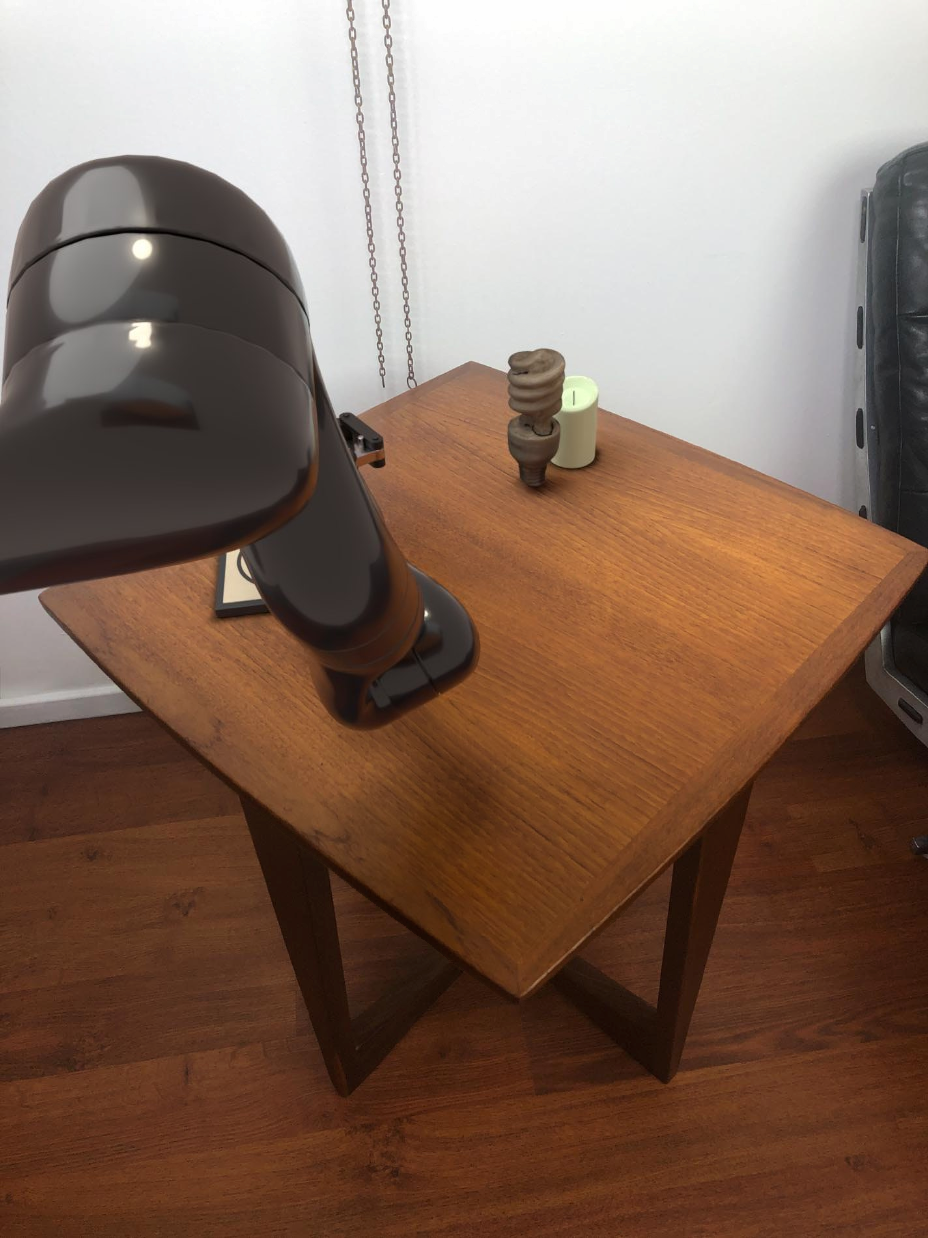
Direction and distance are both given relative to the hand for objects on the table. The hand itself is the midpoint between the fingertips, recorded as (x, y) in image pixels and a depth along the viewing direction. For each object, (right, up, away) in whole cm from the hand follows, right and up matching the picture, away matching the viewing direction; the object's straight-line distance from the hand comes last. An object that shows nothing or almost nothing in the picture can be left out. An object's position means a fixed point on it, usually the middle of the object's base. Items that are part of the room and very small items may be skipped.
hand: (277, 413), depth 83 cm
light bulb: (+23, -4, +16) cm, 28 cm away
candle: (+28, 0, +20) cm, 34 cm away
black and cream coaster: (0, -13, +7) cm, 15 cm away
